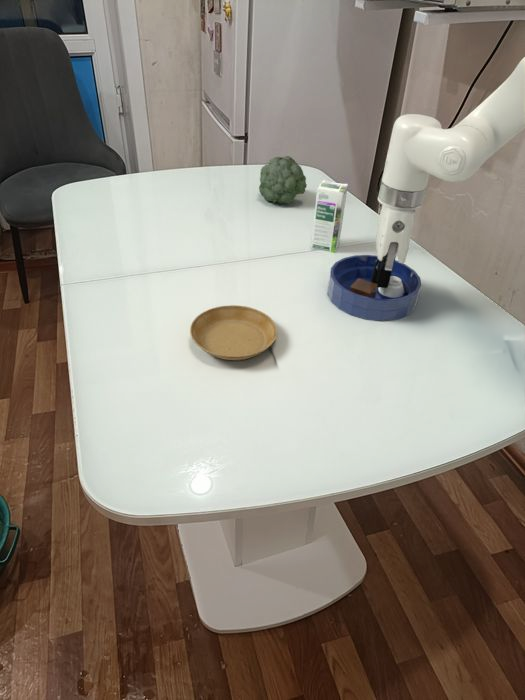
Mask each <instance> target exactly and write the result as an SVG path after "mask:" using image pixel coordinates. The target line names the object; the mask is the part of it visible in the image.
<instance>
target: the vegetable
mask: <svg viewBox="0 0 525 700" xmlns="http://www.w3.org/2000/svg"><path fill="white" fill-rule="evenodd" d="M259 182H260V184H259V187H258V190H259V194H260V195H261V196H262V197H263V198H264V200H265V201H266V202H272V203H278V204H280V205H284V204H290V203H291V201H294V200H295V198H296V196H297V195H304V194H305V192H306V189H307V185H308V184H307V176H306V175H305V174H304V171H303V168H302V167H301V166H300V165H299V164H298V163H297V162H296V160H295V159H293V158H292V157H291V156H289V155H285V156H275V157H272V158H271V159H270V160H269V162H267V164H265V165H264V166H262V167H261V168H260V176H259Z"/></svg>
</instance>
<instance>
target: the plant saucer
mask: <svg viewBox="0 0 525 700" xmlns="http://www.w3.org/2000/svg"><path fill="white" fill-rule="evenodd" d="M189 334H190V337H191V339H192V341H193V342H194V343H195V345H196V346H198V347H199V348H200V349H201V350H202V351H204V352H205V353H206V354H209V355H210V356H213V357H215V358H218V359H221V360H225V361H226V360H227V361H241V360H247V359H250V358H253V357H256V356H258V355H260V354H262V353H263V352H264V351H266V350H267V349H269V348H270V347H271V346H272V345H273V343H274V342H275V340H276V339H277V336H278V328H277V324H276V322H275V321H274V320H273V319H272V318H271V317H270V316H269V315H267V313H265V312H262V311H261V310H258V309H256V308H253V307H250V306H246V305H234V304H233V305H220V306H216V307H211V308H209V309H207V310H204V311H203V312H201V313H200V314H198V315H196V316H195V318H194V319H193V321H192V322H191V324H190V327H189Z"/></svg>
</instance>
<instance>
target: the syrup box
mask: <svg viewBox="0 0 525 700" xmlns="http://www.w3.org/2000/svg"><path fill="white" fill-rule="evenodd" d="M348 186H349V183H340V182H335V181H328V180H322V181H321V183H320V184H319V185H318V187H317V188H316V196H315V207H314V216H313V225H312V226H313V228H312V236H311V242H310V244H311V245H310V251H322V252H327V253H333V254H335V253H336V252H337V250H338V248H339V246H340V243H341V242H340V241H341V235H342V228H343V222H344V214H345V207H346V201H347V194H348V188H349V187H348Z"/></svg>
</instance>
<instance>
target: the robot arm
mask: <svg viewBox="0 0 525 700" xmlns="http://www.w3.org/2000/svg"><path fill="white" fill-rule="evenodd" d="M523 130H525V56H524V57H523V58H522V59H521V60H520V61H519V62H518V64H517V65H516V67H515V68H514V70H513V71H512V73H511V74H510V75H509V76H508V77H507V78H506V79H505V80H504V81H503V82H502V84H500V85H499V86H498V87H497V88H496V89H495V90H494V91H492V93H491V94H490V95H488V97H487V98H485V99H484V100H483V101H482V102H480V103H479V105H478V106H476V108H475V109H473V110H472V111H470V113H468V115H466V116H465V117H464V118H463V119H462V120H460V121H459V122H458V123H457V124H455V125H454V126H452V127H450V128H442V123H441V122H440V121H439V119H436V118H434V117H432V116H429V115H425V114H420V113H419V114H418V113H407V114H402V115H399V116H398V118H396V120H395V121H394V123H393V127H392V130H391V135H390V140H389V143H388V144H389V145H388V149H387V154H386V158H385V164H384V168H383V173H382V177H381V182H380V187H379V191H378V196H377V201H378V203H379V204H381V209H380V213H379V217H378V222H377V227H376V231H375V232H376V233H375V250H376V256H377V258H376V264H375V265H374V269H373V274H372V278H371V282H372V283H375V284H378V287H381V288H387V287H388V284H389V281H390V277H391V273H392V268H393V265H394V262H395V260H396V258H397V261H399V263H401V264H405V263H406V260H407V256H408V251H409V247H410V242H411V238H412V233H413V229H414V223H415V218H416V210H419V209H421V207H422V204H423V201H424V199H425V194H426V190H427V186H428V183H429V179H430V176H434V177H435V178H437V179H440V180H441V181H445V182H449V183H461V182H463V181H466V180H468V179H469V178H471V177H472V176H474V175H475V174H476V172H477V171H479V169H480V168H481V167H482V166H483V164H484V163H486V161H487V160H488V159H490V158H491V157H492V156H493V155H494V154H495V153H497V151H499V150H500V149H501V148H502V147H503V146H505V145H507V143H509V142H510V141H511V140H512V139H513V138H515V137H516V136H517V135H518V134H520V133H521V132H522V131H523Z"/></svg>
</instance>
